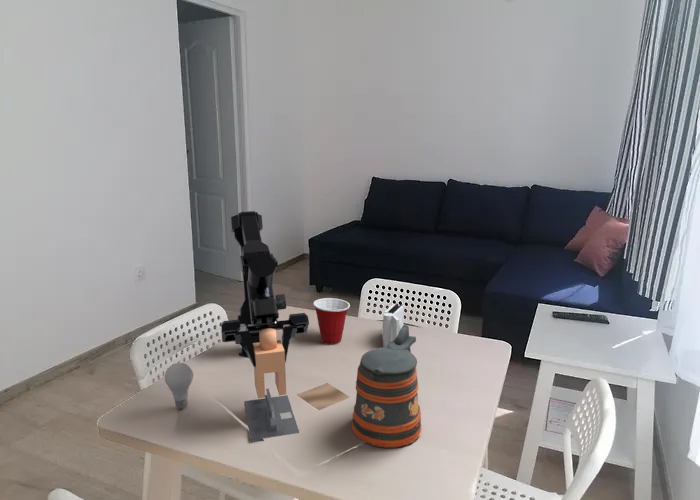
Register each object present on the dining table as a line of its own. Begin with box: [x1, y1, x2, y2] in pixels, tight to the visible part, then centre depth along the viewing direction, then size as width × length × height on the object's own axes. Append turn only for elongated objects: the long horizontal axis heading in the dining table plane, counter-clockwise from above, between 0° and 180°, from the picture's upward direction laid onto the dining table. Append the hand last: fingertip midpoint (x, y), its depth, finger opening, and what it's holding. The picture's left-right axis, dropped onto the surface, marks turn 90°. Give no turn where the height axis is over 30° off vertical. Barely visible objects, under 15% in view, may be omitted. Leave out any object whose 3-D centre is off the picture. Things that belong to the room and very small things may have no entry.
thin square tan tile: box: [297, 382, 351, 411], centre depth 125 cm, size 9×9×1 cm
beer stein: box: [351, 324, 422, 449], centre depth 112 cm, size 19×15×20 cm
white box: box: [382, 303, 405, 348], centre depth 154 cm, size 14×5×10 cm, turn 168°
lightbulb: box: [164, 362, 194, 410], centre depth 119 cm, size 6×6×11 cm
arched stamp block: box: [253, 328, 287, 399], centre depth 113 cm, size 6×6×14 cm
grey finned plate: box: [244, 388, 300, 443], centre depth 115 cm, size 16×10×5 cm, turn 15°
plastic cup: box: [313, 297, 351, 345], centre depth 156 cm, size 11×11×12 cm
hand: (269, 364), depth 112 cm, fingers closed on arched stamp block, 6 cm apart
